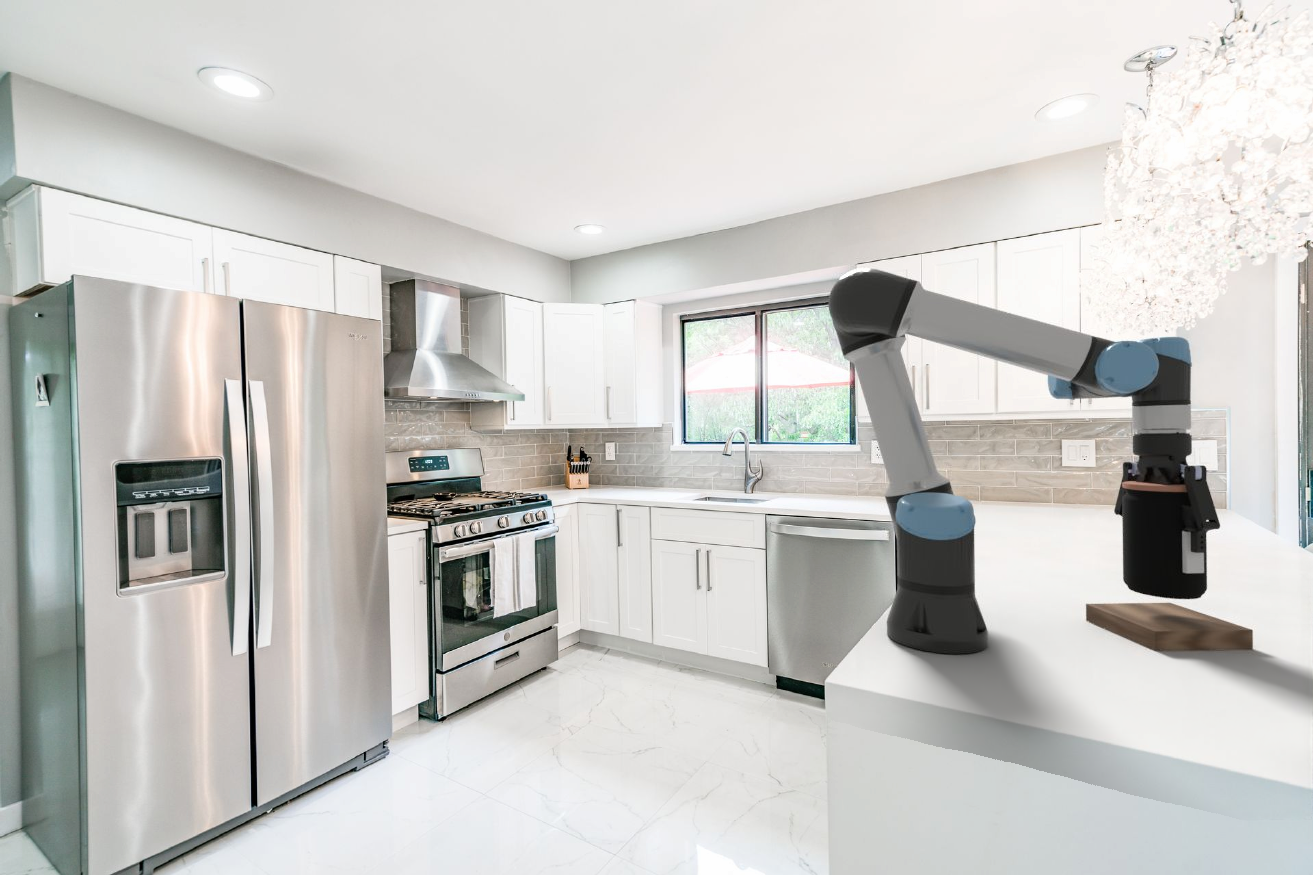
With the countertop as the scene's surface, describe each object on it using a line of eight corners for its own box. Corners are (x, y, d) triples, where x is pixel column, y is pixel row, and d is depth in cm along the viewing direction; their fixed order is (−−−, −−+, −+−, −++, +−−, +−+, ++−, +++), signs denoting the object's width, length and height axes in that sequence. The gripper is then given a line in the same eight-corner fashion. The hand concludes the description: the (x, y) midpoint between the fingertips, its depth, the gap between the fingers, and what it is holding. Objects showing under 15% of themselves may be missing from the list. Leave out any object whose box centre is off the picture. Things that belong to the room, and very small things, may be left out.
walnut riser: (1155, 650, 93) (1155, 631, 93) (1086, 620, 108) (1086, 603, 108) (1252, 649, 93) (1252, 630, 93) (1170, 619, 108) (1170, 602, 108)
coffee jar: (1226, 600, 95) (1224, 485, 95) (1157, 600, 95) (1155, 486, 95) (1170, 583, 106) (1168, 480, 106) (1108, 584, 106) (1106, 481, 106)
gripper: (1252, 431, 89) (1254, 581, 89) (1129, 431, 112) (1131, 551, 112) (1201, 432, 89) (1203, 582, 89) (1088, 432, 112) (1090, 551, 112)
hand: (1163, 564), depth 101 cm, fingers closed on coffee jar, 11 cm apart
